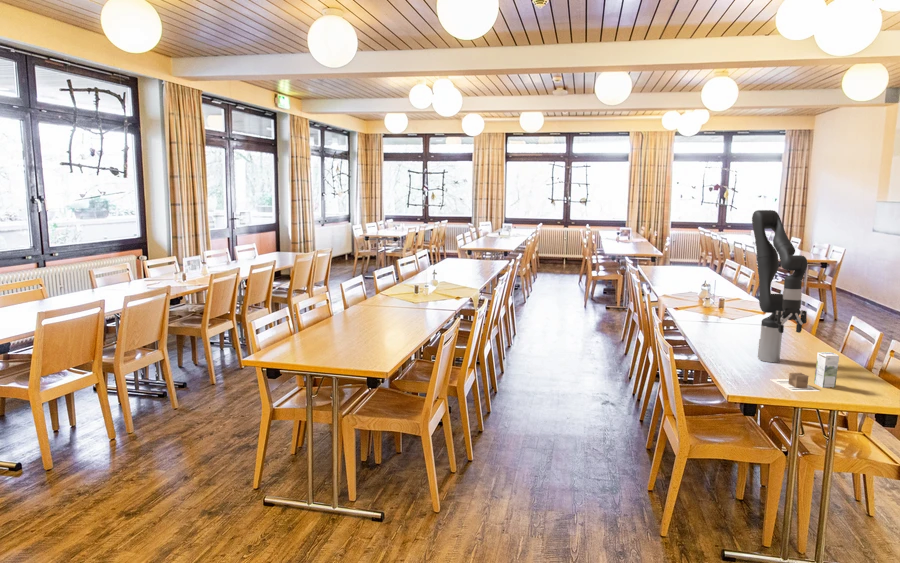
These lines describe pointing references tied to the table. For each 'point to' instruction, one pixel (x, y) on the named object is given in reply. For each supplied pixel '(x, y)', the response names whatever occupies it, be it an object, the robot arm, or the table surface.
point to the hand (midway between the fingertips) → (789, 332)
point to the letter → (785, 384)
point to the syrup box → (826, 369)
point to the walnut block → (798, 380)
